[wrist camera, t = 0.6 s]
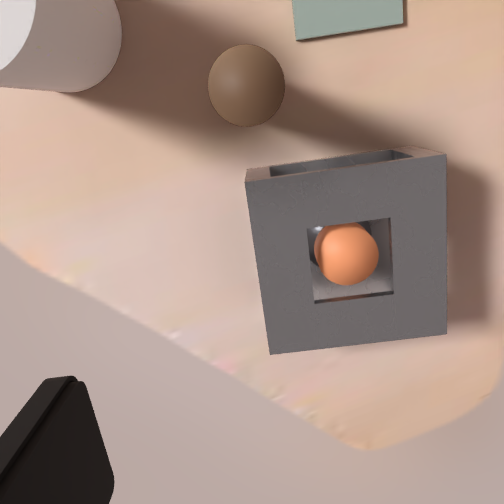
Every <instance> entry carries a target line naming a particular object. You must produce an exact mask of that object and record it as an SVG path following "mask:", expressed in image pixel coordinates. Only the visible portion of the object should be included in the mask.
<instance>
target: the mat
mask: <svg viewBox="0 0 504 504" xmlns="http://www.w3.org/2000/svg"><path fill="white" fill-rule="evenodd" d="M292 4H293V14H294V24H295V34H296V41H297V40H303V39H310V38H316V37H322V36H329V35H335V34H342V33H348V32H354V31H361V30H367V29H374V28H380V27H386V26H393V25H399V24H402V23H403V1H402V0H292Z"/></svg>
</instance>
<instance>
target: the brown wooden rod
mask: <svg viewBox="0 0 504 504" xmlns="http://www.w3.org/2000/svg"><path fill="white" fill-rule="evenodd" d="M284 90H285V80H284V75H283V72H282V69H281V67H280V65H279V63H278V62H277V60H276V59H275V58H274V56H272V55H271V54H270V53H269V52H268V51H266V50H265V49H263V48H261V47H258V46H255V45H249V44H244V45H237V46H234V47H231V48H229V49H228V50H226V51H225V52H223V53H222V54H221V55H220V56H219V57H218V58H217V59H216V61H215V62H214V64H213V66H212V68H211V70H210V74H209V78H208V93H209V97H210V100H211V103H212V105H213V107H214V108H215V110H216V111H217V113H218V114H219V115H220V116H221V117H222V118H223V119H225V120H226V121H228V122H230V123H232V124H234V125H238V126H245V127H248V126H255V125H258V124H261V123H263V122H265V121H267V120H268V119H269V118H271V117H272V116H273V115H274V113H275V112H276V111H277V110H278V108H279V106H280V104H281V102H282V99H283V96H284Z"/></svg>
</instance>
